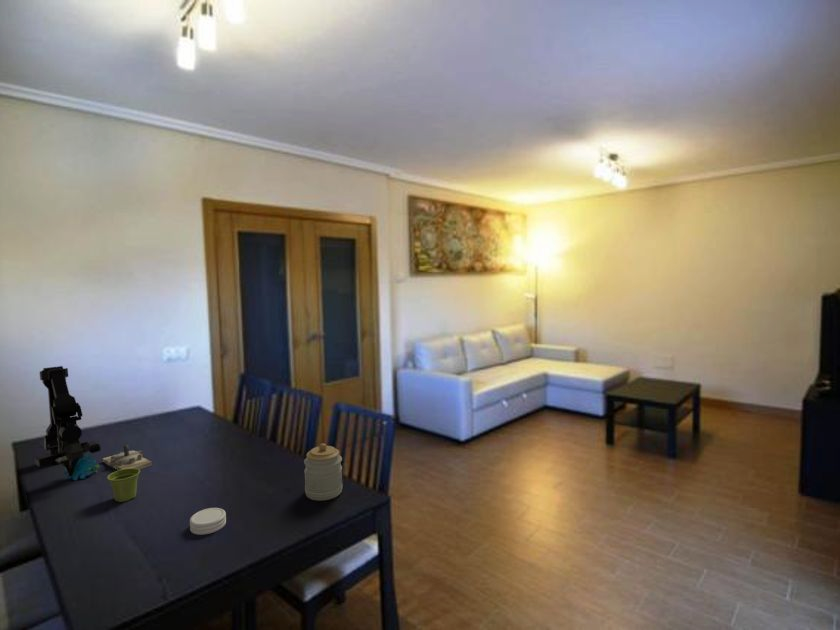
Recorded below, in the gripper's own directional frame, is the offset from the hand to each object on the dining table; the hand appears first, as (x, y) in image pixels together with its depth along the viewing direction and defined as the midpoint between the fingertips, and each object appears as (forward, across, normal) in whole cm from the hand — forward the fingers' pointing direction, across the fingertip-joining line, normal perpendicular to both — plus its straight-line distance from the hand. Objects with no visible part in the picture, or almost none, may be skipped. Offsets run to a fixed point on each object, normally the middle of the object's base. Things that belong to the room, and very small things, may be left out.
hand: (70, 475), depth 169 cm
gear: (+2, +4, +1) cm, 5 cm away
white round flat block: (+2, +13, -71) cm, 72 cm away
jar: (+2, +48, -84) cm, 97 cm away
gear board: (+2, +19, 0) cm, 19 cm away
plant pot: (+2, +6, -31) cm, 32 cm away
